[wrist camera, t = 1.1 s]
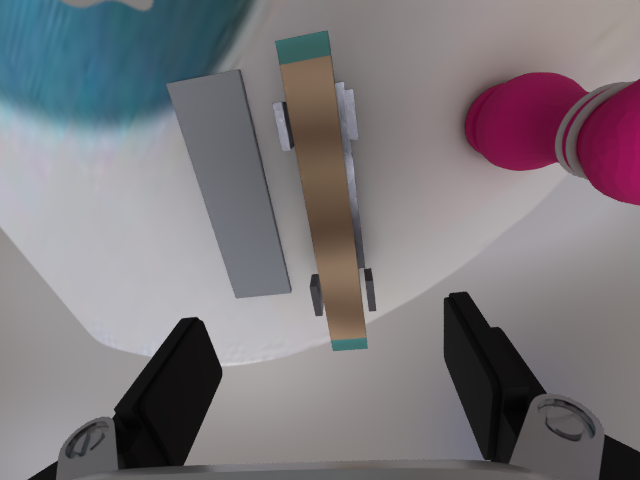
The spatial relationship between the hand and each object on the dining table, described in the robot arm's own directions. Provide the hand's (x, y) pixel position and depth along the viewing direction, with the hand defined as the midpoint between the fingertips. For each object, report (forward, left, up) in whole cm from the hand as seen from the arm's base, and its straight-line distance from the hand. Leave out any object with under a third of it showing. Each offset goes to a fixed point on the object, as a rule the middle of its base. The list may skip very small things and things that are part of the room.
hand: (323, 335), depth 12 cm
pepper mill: (-4, +16, -22) cm, 28 cm away
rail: (0, 0, -14) cm, 14 cm away
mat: (0, -11, -22) cm, 24 cm away
